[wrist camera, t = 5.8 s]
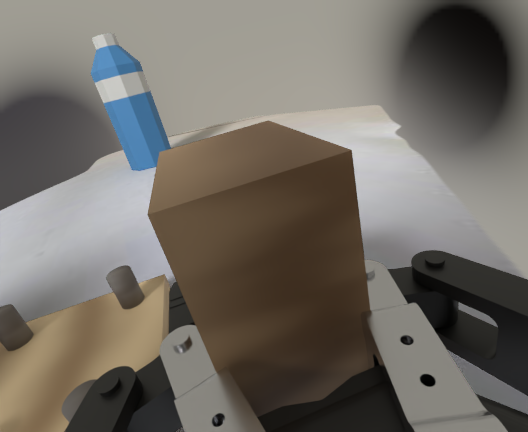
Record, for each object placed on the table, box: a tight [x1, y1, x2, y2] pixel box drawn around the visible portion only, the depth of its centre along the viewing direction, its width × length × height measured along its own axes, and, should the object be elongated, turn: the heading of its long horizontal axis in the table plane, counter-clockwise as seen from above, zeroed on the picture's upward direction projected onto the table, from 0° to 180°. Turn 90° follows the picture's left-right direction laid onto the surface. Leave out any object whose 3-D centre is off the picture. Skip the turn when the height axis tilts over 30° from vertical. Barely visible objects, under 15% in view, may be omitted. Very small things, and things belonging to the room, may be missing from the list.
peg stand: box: [0, 266, 170, 432], centre depth 17 cm, size 12×14×4 cm
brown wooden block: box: [148, 121, 370, 417], centre depth 11 cm, size 4×6×12 cm, turn 15°
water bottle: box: [91, 33, 171, 171], centre depth 65 cm, size 9×9×25 cm
